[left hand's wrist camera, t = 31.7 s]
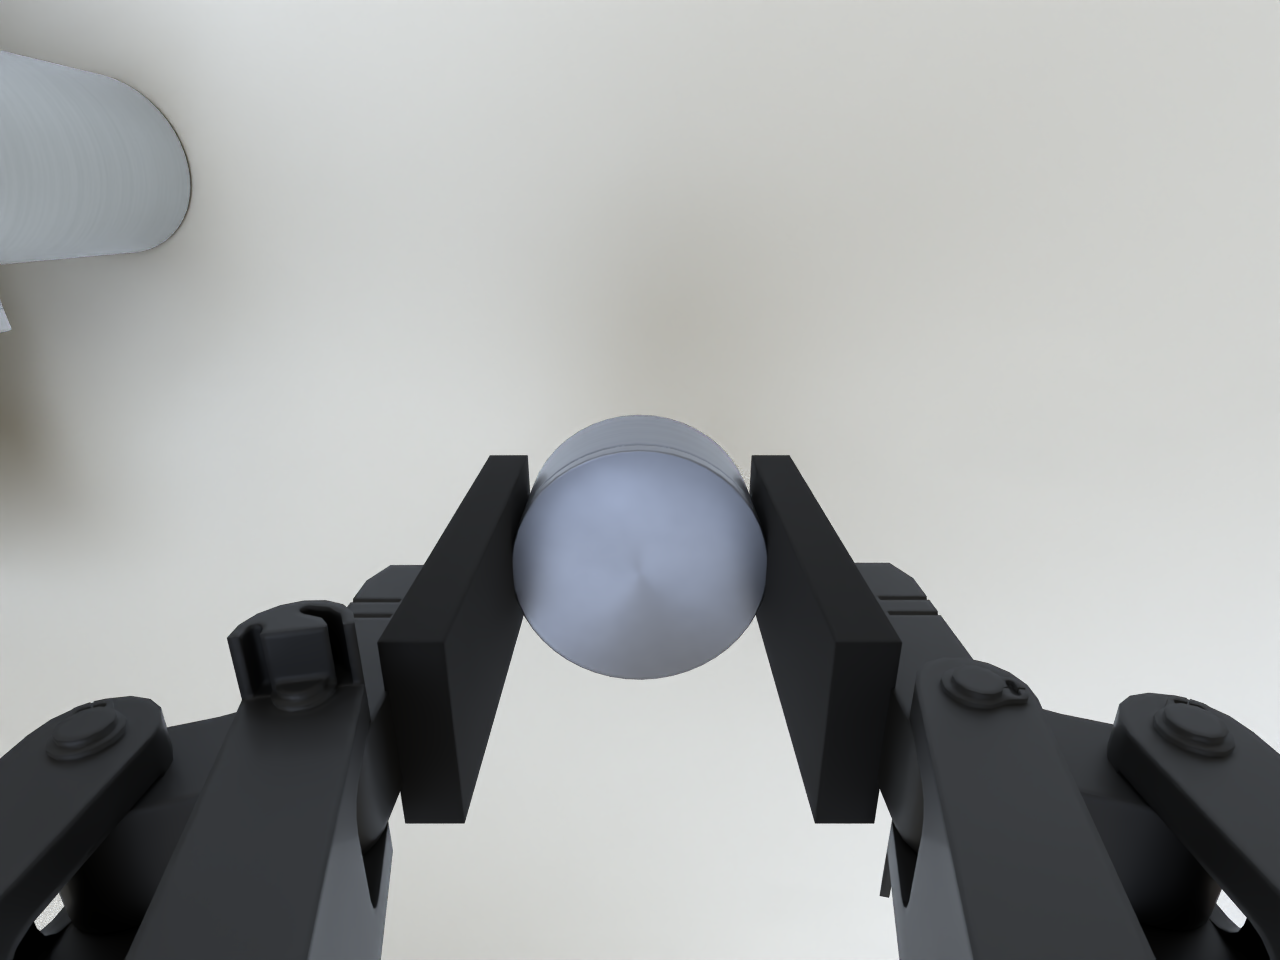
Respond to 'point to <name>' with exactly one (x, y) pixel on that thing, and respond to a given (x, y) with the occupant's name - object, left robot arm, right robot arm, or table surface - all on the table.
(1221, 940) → the left robot arm
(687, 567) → the cap
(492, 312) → the table surface
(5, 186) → the bottle
